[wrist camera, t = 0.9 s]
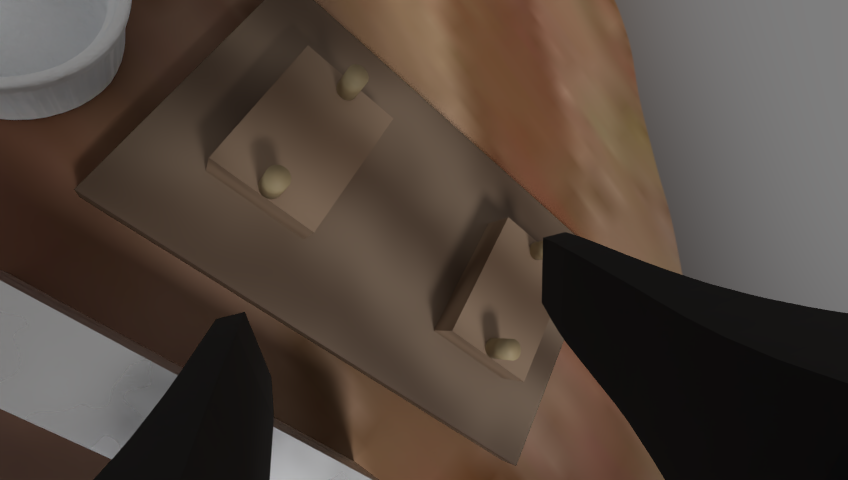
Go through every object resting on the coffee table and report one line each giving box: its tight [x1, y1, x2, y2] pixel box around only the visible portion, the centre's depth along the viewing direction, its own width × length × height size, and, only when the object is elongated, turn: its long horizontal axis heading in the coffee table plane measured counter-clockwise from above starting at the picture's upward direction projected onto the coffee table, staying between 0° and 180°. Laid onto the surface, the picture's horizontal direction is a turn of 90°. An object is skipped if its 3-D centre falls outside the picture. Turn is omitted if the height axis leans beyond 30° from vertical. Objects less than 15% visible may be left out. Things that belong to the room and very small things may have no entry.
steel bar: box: [0, 270, 379, 480], centre depth 17 cm, size 16×3×5 cm, turn 59°
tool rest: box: [74, 0, 575, 466], centre depth 23 cm, size 14×24×4 cm, turn 59°
